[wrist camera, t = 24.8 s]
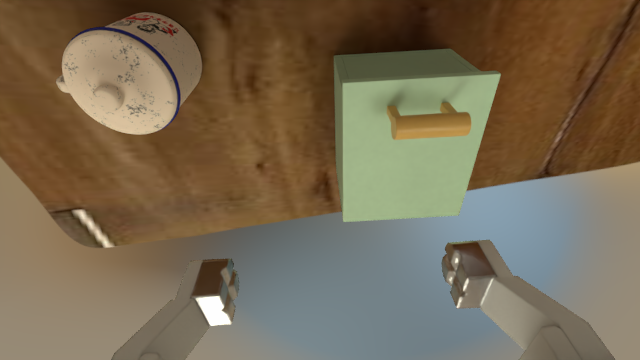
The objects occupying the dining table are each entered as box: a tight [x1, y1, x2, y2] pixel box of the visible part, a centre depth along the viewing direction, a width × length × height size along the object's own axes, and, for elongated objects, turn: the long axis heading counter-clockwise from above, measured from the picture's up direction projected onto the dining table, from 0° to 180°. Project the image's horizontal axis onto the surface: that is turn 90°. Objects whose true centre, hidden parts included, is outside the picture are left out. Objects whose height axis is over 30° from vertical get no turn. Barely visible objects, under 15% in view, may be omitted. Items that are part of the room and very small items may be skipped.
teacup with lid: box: [56, 12, 202, 134], centre depth 29 cm, size 12×9×12 cm
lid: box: [342, 71, 501, 222], centre depth 28 cm, size 15×13×5 cm
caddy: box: [334, 49, 481, 216], centre depth 34 cm, size 15×13×10 cm
